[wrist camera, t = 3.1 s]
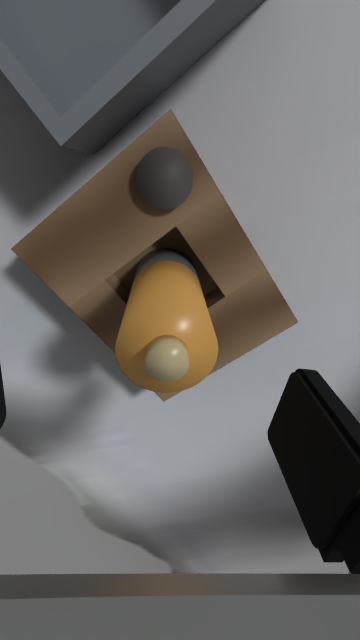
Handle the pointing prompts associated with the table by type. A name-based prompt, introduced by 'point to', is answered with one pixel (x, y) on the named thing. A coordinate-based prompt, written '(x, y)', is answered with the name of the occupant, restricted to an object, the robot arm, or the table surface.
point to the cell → (166, 325)
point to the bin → (104, 57)
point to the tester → (156, 244)
